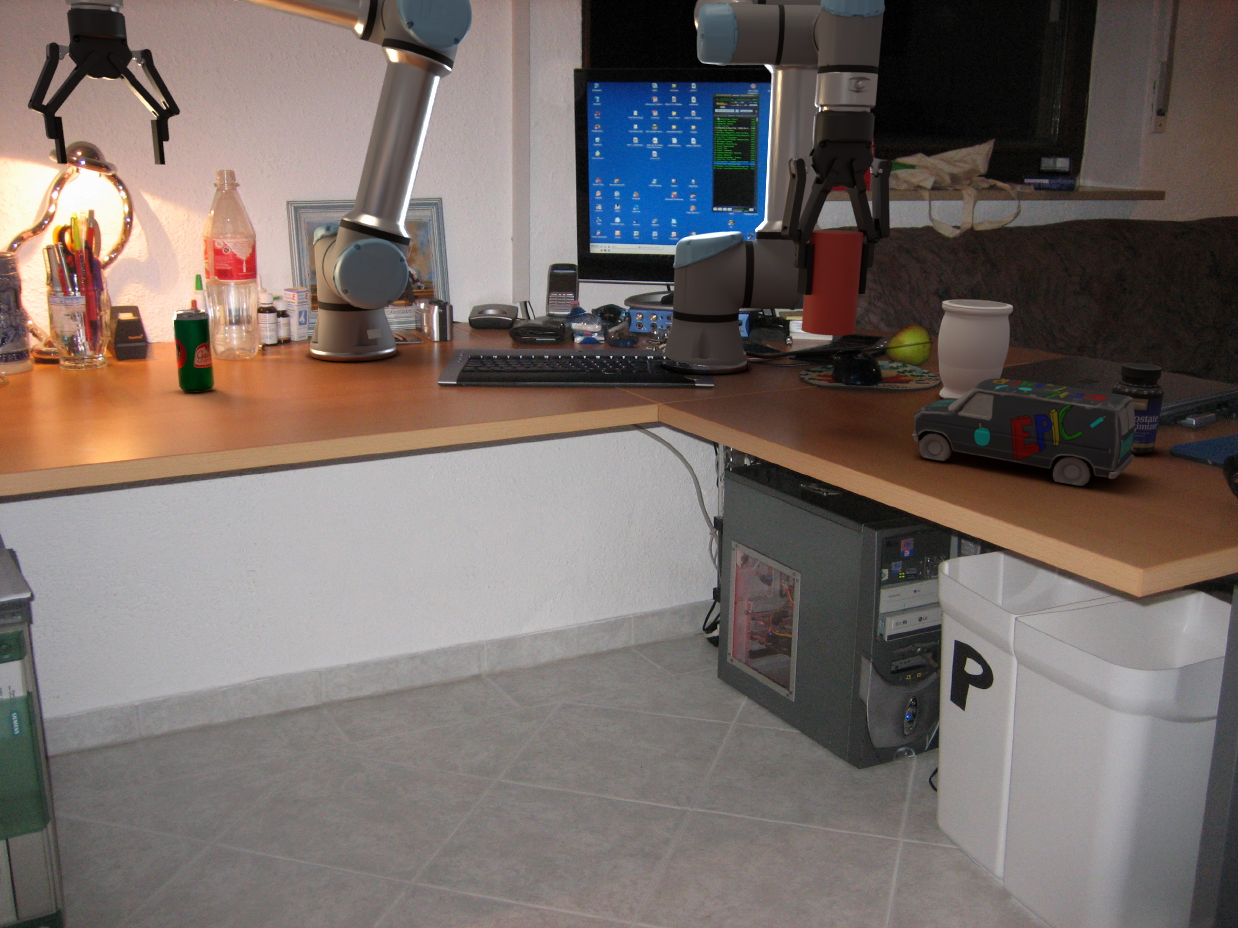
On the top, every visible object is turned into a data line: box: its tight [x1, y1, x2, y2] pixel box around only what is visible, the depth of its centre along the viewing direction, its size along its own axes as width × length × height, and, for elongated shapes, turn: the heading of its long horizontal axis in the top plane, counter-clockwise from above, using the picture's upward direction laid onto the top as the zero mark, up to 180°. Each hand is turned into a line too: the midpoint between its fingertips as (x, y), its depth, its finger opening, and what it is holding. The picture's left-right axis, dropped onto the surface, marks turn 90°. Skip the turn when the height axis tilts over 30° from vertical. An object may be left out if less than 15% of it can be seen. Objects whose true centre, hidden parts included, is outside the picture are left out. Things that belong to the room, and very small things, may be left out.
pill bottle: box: [1111, 362, 1165, 455], centre depth 139 cm, size 6×6×11 cm
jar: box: [937, 298, 1014, 399], centre depth 166 cm, size 11×10×15 cm
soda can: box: [172, 308, 215, 393], centre depth 162 cm, size 5×5×12 cm
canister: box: [801, 229, 863, 337], centre depth 141 cm, size 7×7×13 cm
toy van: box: [911, 377, 1136, 487], centre depth 131 cm, size 11×25×10 cm, turn 54°
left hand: (112, 164), depth 159 cm, fingers open, 13 cm apart
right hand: (831, 293), depth 141 cm, fingers closed on canister, 7 cm apart
